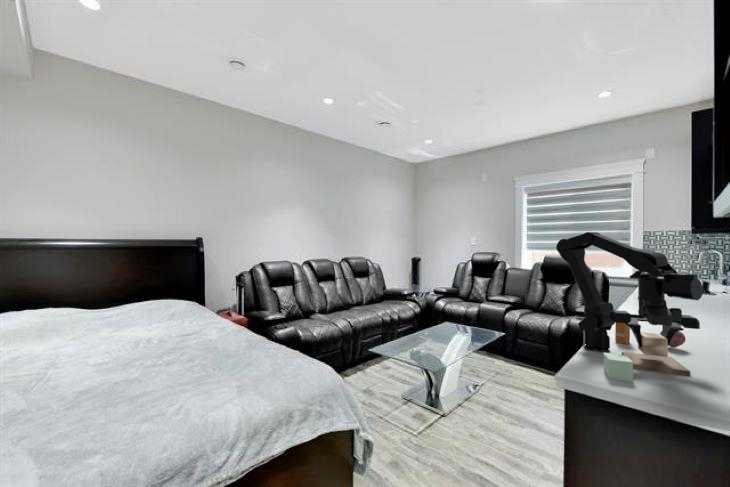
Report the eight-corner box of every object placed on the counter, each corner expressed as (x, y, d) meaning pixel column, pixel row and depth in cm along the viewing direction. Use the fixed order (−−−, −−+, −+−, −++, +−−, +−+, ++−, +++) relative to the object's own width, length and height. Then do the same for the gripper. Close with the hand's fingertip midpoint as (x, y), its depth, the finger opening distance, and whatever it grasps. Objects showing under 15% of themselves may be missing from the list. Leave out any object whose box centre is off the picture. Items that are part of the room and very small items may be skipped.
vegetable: (655, 345, 110) (654, 316, 110) (675, 345, 109) (674, 317, 109) (669, 350, 104) (668, 320, 104) (690, 351, 103) (689, 321, 103)
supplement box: (626, 344, 111) (625, 316, 111) (615, 341, 114) (614, 314, 114) (631, 343, 112) (630, 315, 113) (619, 340, 116) (619, 313, 116)
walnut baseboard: (632, 368, 89) (632, 364, 89) (621, 355, 100) (621, 351, 100) (690, 375, 84) (690, 371, 84) (671, 361, 94) (671, 357, 94)
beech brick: (644, 354, 90) (644, 337, 91) (638, 348, 96) (637, 332, 96) (667, 357, 88) (667, 339, 88) (659, 350, 94) (659, 333, 94)
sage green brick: (609, 378, 83) (608, 359, 83) (604, 370, 88) (603, 352, 88) (633, 381, 81) (632, 362, 81) (626, 373, 86) (626, 355, 86)
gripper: (618, 296, 89) (619, 352, 89) (709, 301, 81) (711, 362, 81) (609, 291, 99) (610, 341, 99) (689, 295, 91) (690, 349, 90)
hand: (652, 348), depth 92 cm, fingers closed on beech brick, 5 cm apart
